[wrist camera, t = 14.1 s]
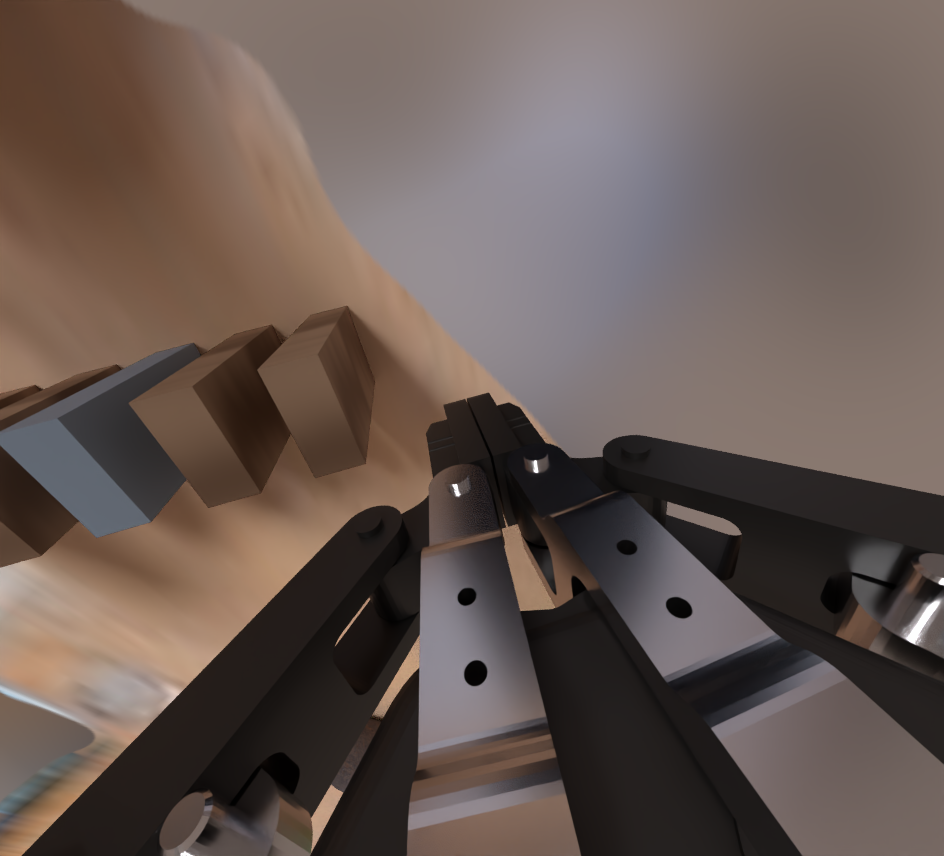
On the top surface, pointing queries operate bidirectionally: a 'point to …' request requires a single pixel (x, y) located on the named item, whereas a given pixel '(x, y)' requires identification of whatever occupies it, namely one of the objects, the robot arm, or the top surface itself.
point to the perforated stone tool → (355, 755)
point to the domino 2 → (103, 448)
